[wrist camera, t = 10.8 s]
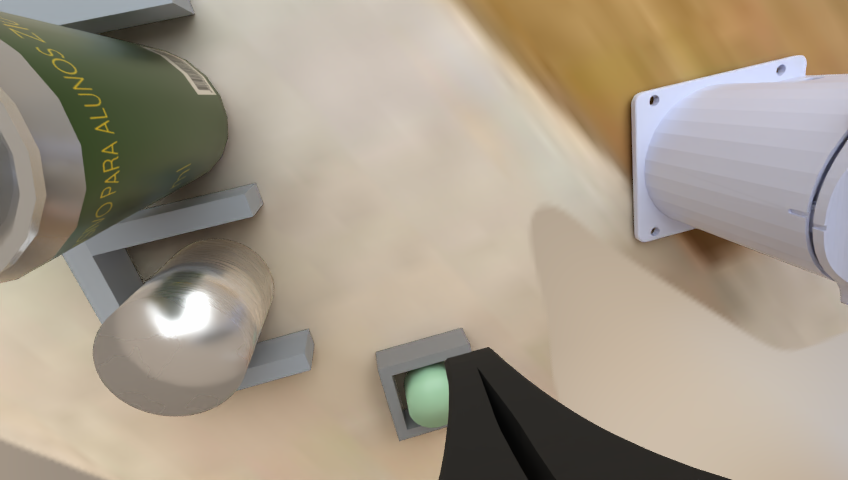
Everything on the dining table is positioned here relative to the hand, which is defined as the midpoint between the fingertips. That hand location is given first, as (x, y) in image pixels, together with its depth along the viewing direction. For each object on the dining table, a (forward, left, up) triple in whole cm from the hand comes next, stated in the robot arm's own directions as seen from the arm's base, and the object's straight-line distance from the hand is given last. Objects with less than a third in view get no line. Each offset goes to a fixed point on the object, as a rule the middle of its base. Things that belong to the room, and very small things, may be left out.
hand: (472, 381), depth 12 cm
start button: (+1, +8, -11) cm, 13 cm away
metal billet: (+10, -1, -10) cm, 14 cm away
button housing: (+1, +8, -10) cm, 13 cm away
